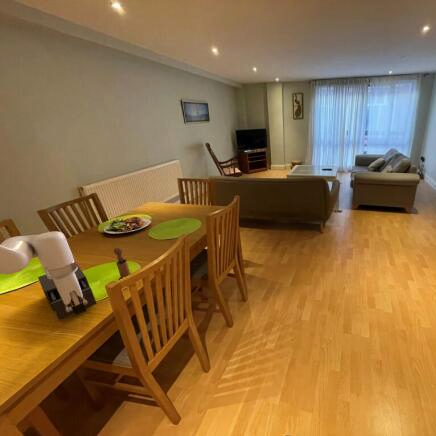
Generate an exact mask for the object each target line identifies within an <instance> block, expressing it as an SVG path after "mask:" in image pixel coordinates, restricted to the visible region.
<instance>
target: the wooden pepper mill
mask: <svg viewBox="0 0 436 436" xmlns="http://www.w3.org/2000/svg"><path fill="white" fill-rule="evenodd" d="M113 253H114V254H115V255H116V256H117V257H116V259H117V261H116V263H115V264H116V267H117V269H118V273H119V277H118V279H117V281H118V280H120V279H122V278H123V277H126V276H128V275H130V274H132V273H131V270H130V267H129V263H128V260H127V259H125V258H124V255H122V253H123V248H122V247H120V246H117V247H115V248H114V249H113Z"/></svg>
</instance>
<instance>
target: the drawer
mask: <svg viewBox="0 0 436 436" xmlns="http://www.w3.org/2000/svg"><path fill="white" fill-rule="evenodd" d="M78 282H79V285H80V288H81V291H82V295H83V298H82V299H81V300H82V301H83V303H84V306H85V308H86V309H89V308H91V307H93V306H95V305H98V303H97V300H96V297H95V295H94V293H93V290H92V288H91V286H90V287H88V288H87V286H86V284H85V283H84V281H83V280H79V281H78ZM49 293H50V295H51V297H52V300H53V302H51V305H52V307H53V309H54V313H55V315H56V317H57V319H58V321H59V322H60V321H62V320H64V319H66V318H69V317H71V316H73V315H75V314H74V312H73V310H72V308H71V306H70V305H71V303H69V304H68V305H65V304H64V302H63V300H62V298H61V296H60V294H59V292H58V290H57V289H55V290H53V291H50V292H49Z"/></svg>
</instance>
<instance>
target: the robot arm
mask: <svg viewBox="0 0 436 436" xmlns="http://www.w3.org/2000/svg"><path fill="white" fill-rule="evenodd" d="M35 257H36V258H37V259H38V261H39V263H40V265H41V267H42V269H43V272H44V274H46V276H47V278H48V279H53V280H54V283H55V285H56V288H57V290H58V292H59V294H60V296H61V298H62V300H63V302H64V304H65V305H68V304H69V303H71V305H70V306H71V308H72V310H73V312H74V314H73V315H74V316H78V315H80V314H83V313H84V312H86V311H87V308H85V306H84V303H83V301H82V300H81V299H82V298H83V295H82V291H81V288H80V285H79V282H78V280H77V277H76V275H75V271H76V270H77V269H78V267H77V265H78V264H77V262H76V260H75V258H74V255H73V253H72V250H71V248H70V246H69V243H68V241H67V238H66V236H65V234H64V233H63V232H61V231H55V230H54V231H47V232H43V233H40V234H31V235H17V236H13V237H9V238H6V239H5V240H4V241H2V243H0V275H12V274H17V273H19V272H22V271H24V270H25V269H26V268H27V267H28V266H29V264H30V263H31V261H32V259H33V258H35ZM76 264H77V265H76Z"/></svg>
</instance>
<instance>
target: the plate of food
mask: <svg viewBox="0 0 436 436" xmlns="http://www.w3.org/2000/svg"><path fill="white" fill-rule="evenodd" d="M151 223H152V218H149V217H143V216H142V217H140V216H130V217H127V218H124V219H123V218H122V219H121V220H120V219H118V218H116V219H114V220H113V221H111V222H110V224H108V225H107V226H105V227H104V228H103V232H104V233H107V234H124V233H130V232H134V231H139V230H141V229H145V227H148V226H149V225H150V224H151Z"/></svg>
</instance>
